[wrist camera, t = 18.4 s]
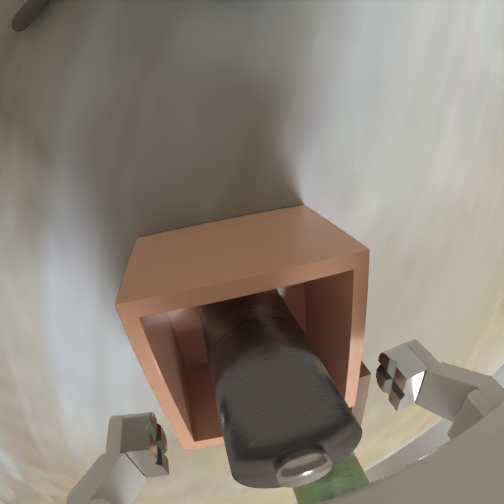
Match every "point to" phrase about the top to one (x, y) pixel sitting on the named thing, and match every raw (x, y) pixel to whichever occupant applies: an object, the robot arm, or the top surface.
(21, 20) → the walkie-talkie
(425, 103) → the top surface
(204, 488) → the top surface
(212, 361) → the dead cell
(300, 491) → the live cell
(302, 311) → the cup
